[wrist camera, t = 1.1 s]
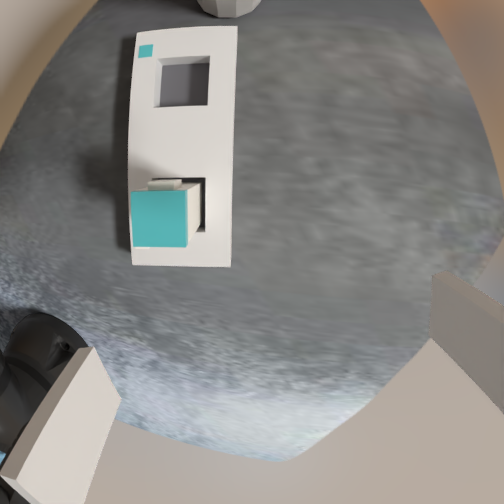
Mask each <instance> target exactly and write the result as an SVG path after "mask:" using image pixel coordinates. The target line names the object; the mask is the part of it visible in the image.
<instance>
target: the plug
mask: <svg viewBox="0 0 504 504" xmlns="http://www.w3.org/2000/svg"><path fill="white" fill-rule="evenodd" d="M131 219H132V237H133V247H183V248H186V247H187V245H188V243H189V242H190V240H191V238H192V237H193V235H194V234H195V232H196V230H197V229H198V227H199V226H200V224H201V222H202V182H181V179H175V180H155V181H151V182H148V187H146V188H143V189H139V190H136V191H132V192H131Z"/></svg>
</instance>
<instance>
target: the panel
mask: <svg viewBox="0 0 504 504" xmlns="http://www.w3.org/2000/svg"><path fill="white" fill-rule="evenodd" d="M236 56H237V26H205V27H186V28H173V29H163V30H154V31H146V32H139V33H137V37H136V45H135V53H134V62H133V72H132V83H131V95H130V111H129V134H128V199H129V223H130V240H131V253H132V265H157V266H201V267H230V266H231V229H232V175H233V137H234V106H235V79H236ZM175 179H181V182H202V222H201V224H200V226H199V227H198V229H197V230H196V232H195V234H194V235H193V237H192V238H191V240H190V242H189V243H188V245H187V247H186V248H183V247H133V237H132V219H131V192H132V191H136V190H139V189H143V188H146V187H148V182H151V181H155V180H175Z"/></svg>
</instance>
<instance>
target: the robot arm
mask: <svg viewBox="0 0 504 504" xmlns="http://www.w3.org/2000/svg"><path fill="white" fill-rule="evenodd" d="M428 335H429V336H430V337H431V338H432V339H433V340H434V341H435V342H436V343H437V344H438V345H439V346H440V347H441V348H442V349H443V350H444V351H445V352H446V353H447V354H448V355H449V356H450V357H451V358H452V359H453V360H454V361H455V362H456V363H457V364H458V365H459V366H460V367H461V368H462V369H463V370H464V371H465V372H466V374H467V375H468V376H469V377H470V378H471V379H472V380H473V381H474V382H475V383H476V384H477V385H478V386H479V387H480V388H481V389H482V391H484V392H485V394H486V395H487V396H488V397H489V398H490V399H491V400H492V401H493V403H494V404H495V405H496V406H497V407H498V408H499V409H500V410H501V411H502V412H503V414H504V306H503V305H502V304H500V303H498V302H497V301H495V300H494V299H492V298H491V297H489V296H488V295H486V294H484V293H483V292H481V291H480V290H478V289H476V288H475V287H473V286H471V285H470V284H468V283H467V282H465V281H463V280H462V279H460V278H458V277H457V276H455V275H453V274H451V273H450V272H448V271H444V272H441V273H438V274H435V275H432V291H431V309H430V322H429V333H428ZM121 400H122V399H121V398H120V396H119V394H118V392H117V391H116V389H115V387H114V385H113V383H112V381H111V380H110V378H109V376H108V374H107V372H106V370H105V368H104V366H103V364H102V362H101V360H100V358H99V356H98V354H97V352H96V350H95V348H94V347H88V345H87V344H86V343H85V341H84V340H83V339H82V338H81V337H80V336H79V335H78V334H77V333H76V332H75V331H74V330H73V329H72V328H71V327H69V326H68V325H67V324H65V323H64V322H62V321H60V320H59V319H57V318H55V317H52V316H49V315H46V314H31V315H28V316H27V317H25V318H24V319H23V320H22V321H21V322H19V323H18V324H17V325H16V326H15V328H14V329H13V331H12V334H11V337H10V340H9V342H8V344H7V347H6V349H5V351H4V353H3V354H2V352H1V350H0V504H84V502H85V499H86V496H87V493H88V490H89V487H90V484H91V481H92V478H93V475H94V472H95V469H96V466H97V464H98V461H99V458H100V455H101V452H102V450H103V447H104V444H105V441H106V439H107V436H108V433H109V431H110V428H111V425H112V423H113V420H114V418H115V415H116V413H117V410H118V407H119V405H120V402H121Z"/></svg>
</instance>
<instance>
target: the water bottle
mask: <svg viewBox="0 0 504 504" xmlns="http://www.w3.org/2000/svg"><path fill="white" fill-rule="evenodd" d="M197 1H198V3H199V4H200V6H201V7H202V9H203V10H204V11H205V12H207V13H210V14H212V15H214V16H217V17H239V16H241V15H244V14H246V13H249V12H252V11H253V10H254V8H255V7H256V6H257V5H258V4H259V3H260V2H261V0H197Z"/></svg>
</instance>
